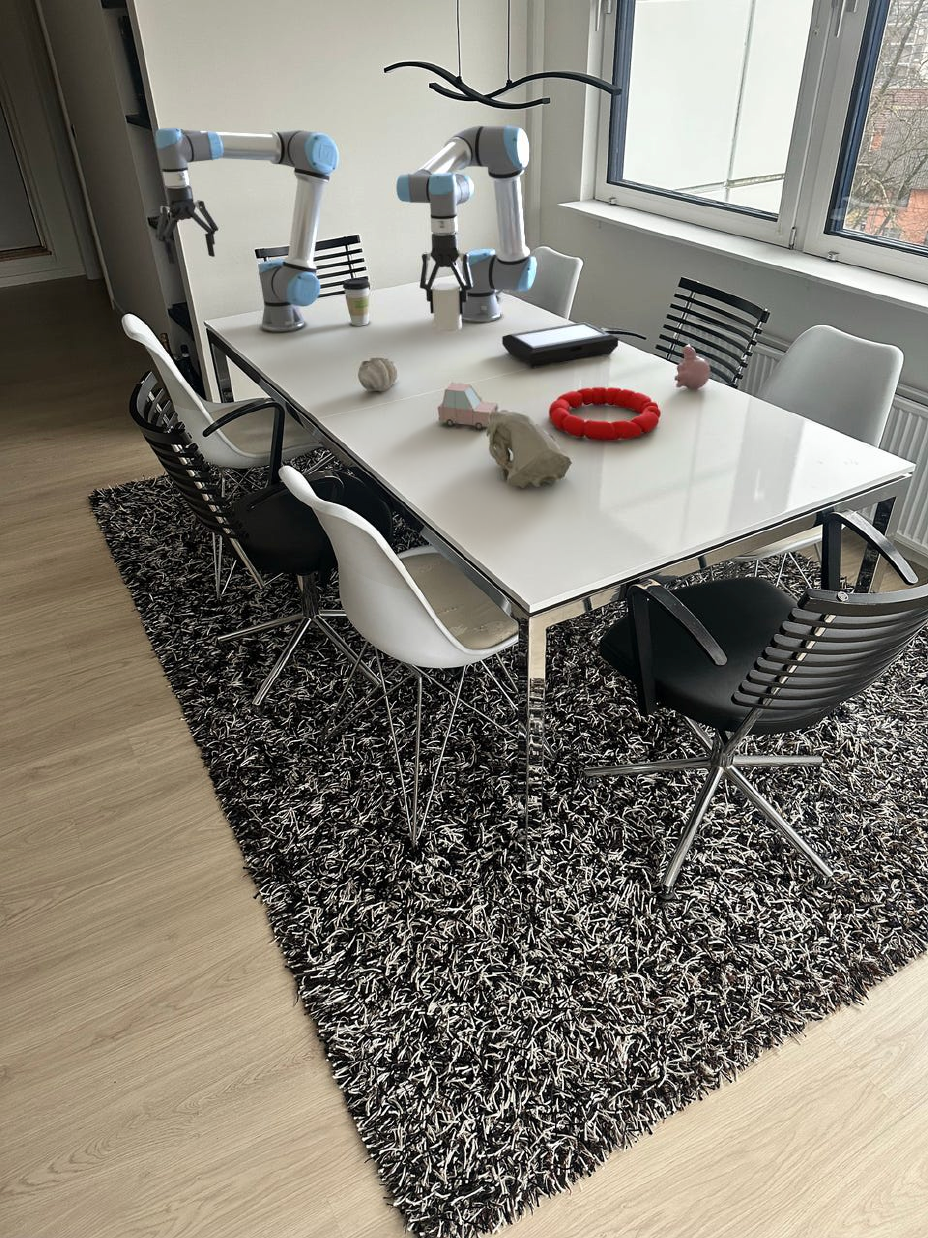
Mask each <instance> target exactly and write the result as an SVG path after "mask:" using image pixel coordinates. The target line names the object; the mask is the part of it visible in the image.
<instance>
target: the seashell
mask: <svg viewBox="0 0 928 1238" xmlns="http://www.w3.org/2000/svg"><path fill="white" fill-rule="evenodd" d="M357 377H358V381H359V382H360V385H361V386H362V387H363V388H364V389H366V391H368V392H375V391H379V392H385V391H388V390H390V388H391V387H392V386H393V385H394V384H395V382H396V380H397V379H398V367H397V365H396V363H395V361H393V360H389V358H383V357H371V358H370V359H369V360H362V362H361V364H360V366H359V367H358V373H357Z"/></svg>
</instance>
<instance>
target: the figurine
mask: <svg viewBox="0 0 928 1238" xmlns="http://www.w3.org/2000/svg"><path fill="white" fill-rule="evenodd" d="M682 354H683V358H684V359H683V361H682V362H679V363H678V364H677V365H676V372H677V375H675V376H674V381H675V382H676V381H677V382H676V384H675V386H676V388H681V387H686V388H688V389H693V390H694V389H695V390H696V389H700V388H703V387H704V386H705V385H706V384H707V383H708V382H709V379H710V377H711V367H710V364H709V362H708V361H706V359H704V358H702V357H700V356H697V353H696V350H695V349H694V347H692V345H690V344H686V345H685V346H684V347H683V348H682Z"/></svg>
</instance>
